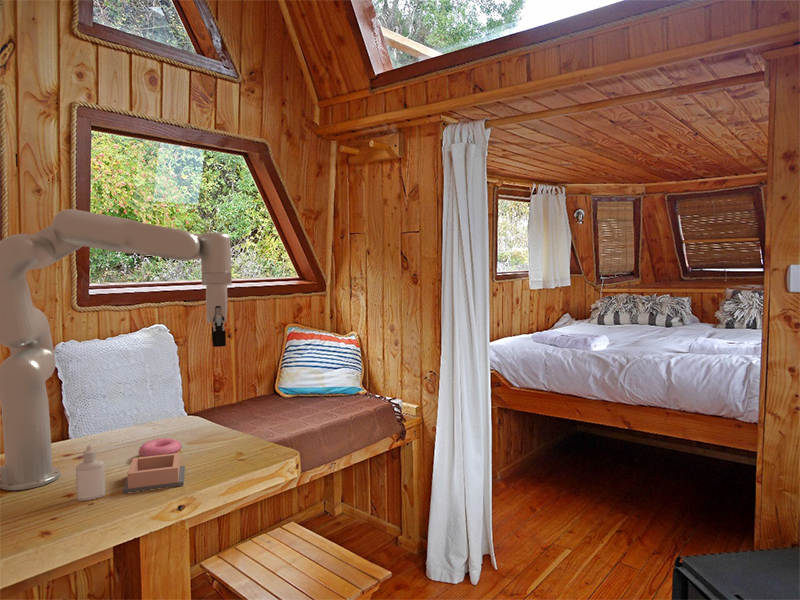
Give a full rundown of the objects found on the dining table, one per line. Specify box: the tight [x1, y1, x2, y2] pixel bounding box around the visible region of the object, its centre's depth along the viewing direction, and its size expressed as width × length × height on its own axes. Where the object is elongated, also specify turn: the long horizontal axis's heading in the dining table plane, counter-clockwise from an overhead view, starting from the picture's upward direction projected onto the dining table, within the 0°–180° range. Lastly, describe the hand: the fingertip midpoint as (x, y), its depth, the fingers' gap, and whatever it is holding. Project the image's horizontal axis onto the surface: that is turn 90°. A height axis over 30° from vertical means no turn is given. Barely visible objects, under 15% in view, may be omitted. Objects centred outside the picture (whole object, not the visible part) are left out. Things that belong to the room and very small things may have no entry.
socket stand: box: [122, 452, 186, 494], centre depth 136 cm, size 13×11×4 cm
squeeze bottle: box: [75, 445, 106, 502], centre depth 126 cm, size 4×6×12 cm
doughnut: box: [138, 437, 183, 457], centre depth 153 cm, size 11×11×4 cm
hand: (218, 343), depth 149 cm, fingers open, 9 cm apart
